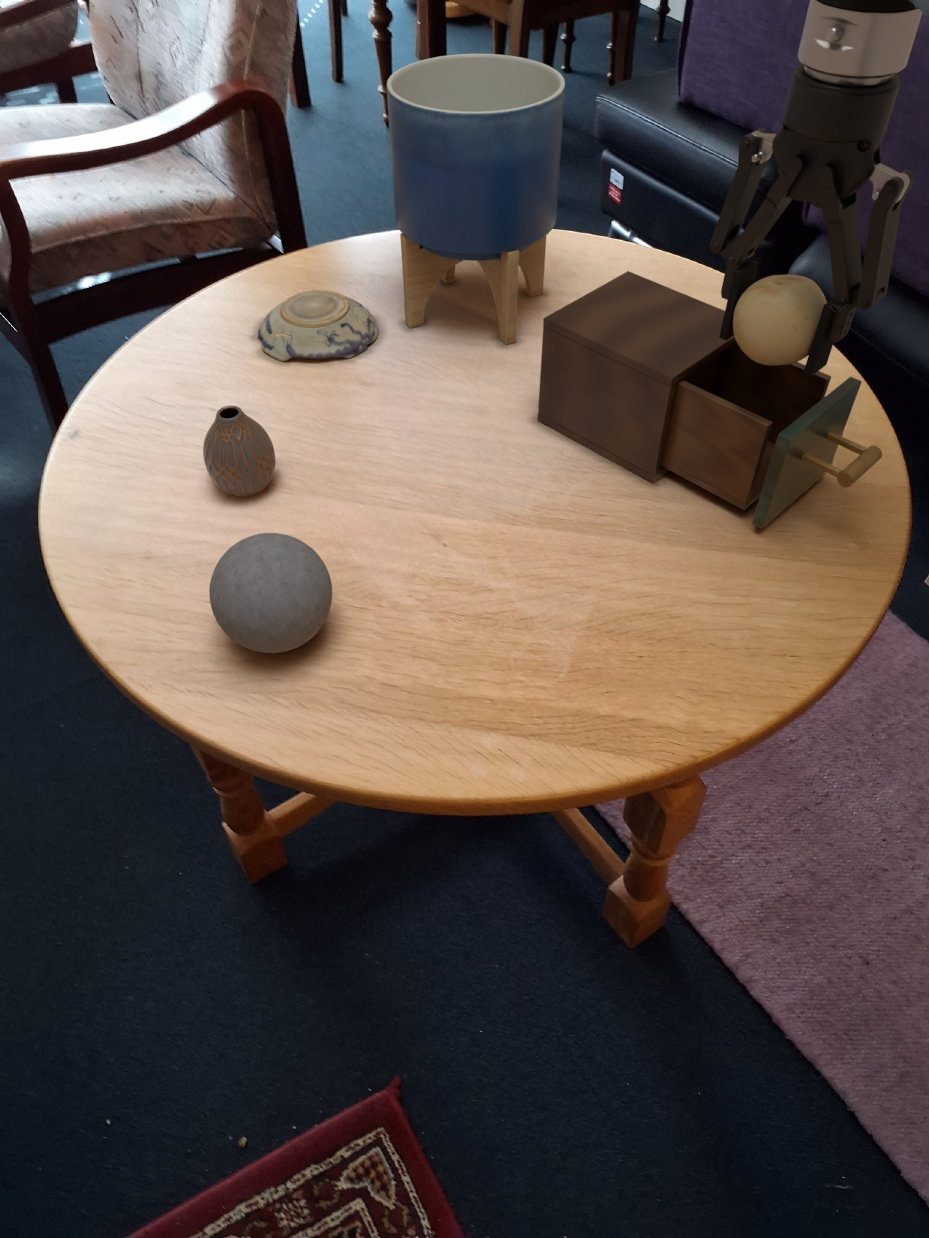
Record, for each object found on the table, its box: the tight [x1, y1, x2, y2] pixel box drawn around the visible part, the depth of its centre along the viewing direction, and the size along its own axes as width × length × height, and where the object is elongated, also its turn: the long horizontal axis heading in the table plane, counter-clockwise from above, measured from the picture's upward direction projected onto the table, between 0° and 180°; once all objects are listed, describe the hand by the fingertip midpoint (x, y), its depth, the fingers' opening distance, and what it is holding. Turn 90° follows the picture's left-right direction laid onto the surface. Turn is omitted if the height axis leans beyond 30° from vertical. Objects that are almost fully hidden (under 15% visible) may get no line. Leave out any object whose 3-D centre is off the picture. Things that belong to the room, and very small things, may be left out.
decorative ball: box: [208, 532, 333, 654], centre depth 74 cm, size 10×10×10 cm
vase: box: [202, 405, 276, 497], centre depth 89 cm, size 7×7×9 cm
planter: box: [386, 53, 566, 345], centre depth 106 cm, size 19×19×26 cm
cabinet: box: [537, 270, 737, 484], centre depth 94 cm, size 16×14×12 cm
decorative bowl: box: [257, 289, 379, 363], centre depth 111 cm, size 15×4×15 cm
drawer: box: [661, 342, 883, 530], centre depth 86 cm, size 20×13×10 cm, turn 45°
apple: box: [733, 274, 828, 365], centre depth 79 cm, size 8×8×8 cm
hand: (771, 350), depth 81 cm, fingers closed on apple, 8 cm apart
